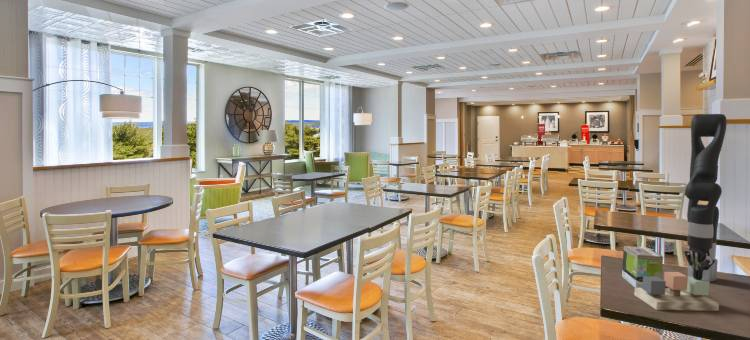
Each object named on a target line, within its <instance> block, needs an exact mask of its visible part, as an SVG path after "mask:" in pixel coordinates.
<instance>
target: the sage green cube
mask: <svg viewBox="0 0 750 340" xmlns="http://www.w3.org/2000/svg"><path fill="white" fill-rule="evenodd" d="M710 283H711V282H709V281H707V280H705V279H703V278H702V280H696V279H694V278H693V277H688V284H687V290H686V291H688V292H690V293H692V294H694V295H705V296H709V295H710Z"/></svg>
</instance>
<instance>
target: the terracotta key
mask: <svg viewBox="0 0 750 340" xmlns="http://www.w3.org/2000/svg"><path fill="white" fill-rule="evenodd" d="M663 280H664V281H666V285H665V287H666V288H671V289H672V290H687V284H688V275H685V274H683V273H682V272H679V271H664V274H663Z"/></svg>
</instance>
